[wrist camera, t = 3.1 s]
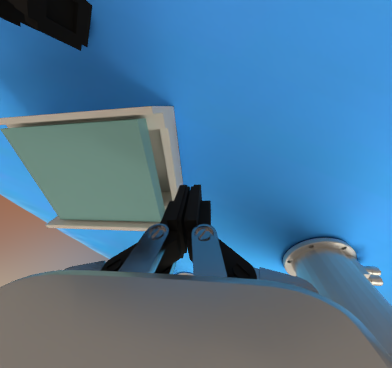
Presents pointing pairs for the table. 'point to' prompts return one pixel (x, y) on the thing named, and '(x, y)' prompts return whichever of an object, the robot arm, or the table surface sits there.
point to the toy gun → (52, 18)
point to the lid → (93, 169)
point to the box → (161, 146)
